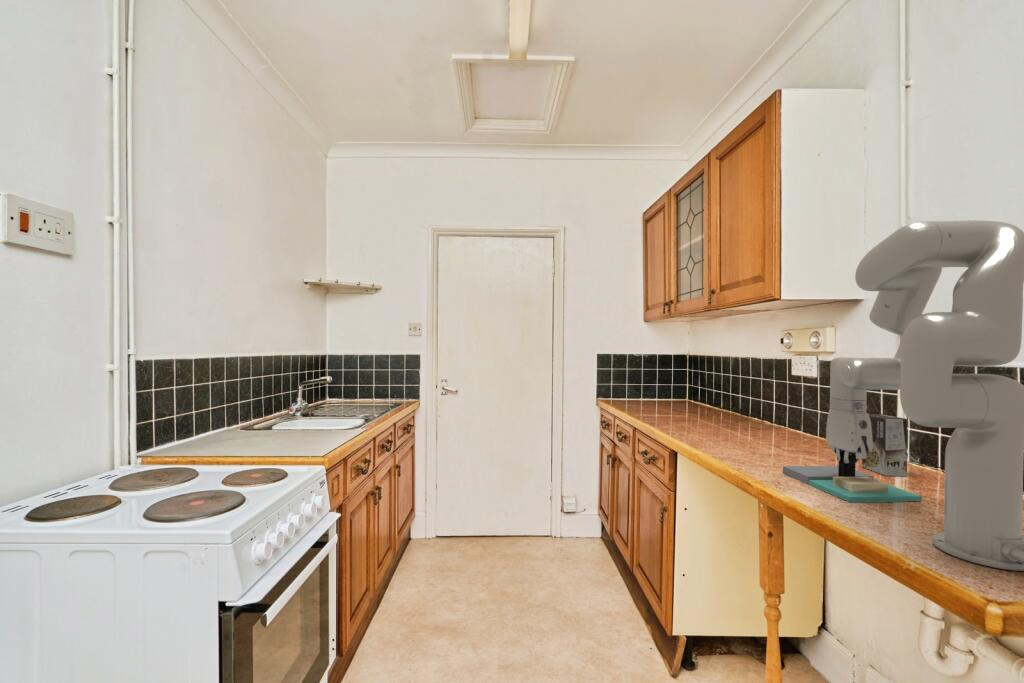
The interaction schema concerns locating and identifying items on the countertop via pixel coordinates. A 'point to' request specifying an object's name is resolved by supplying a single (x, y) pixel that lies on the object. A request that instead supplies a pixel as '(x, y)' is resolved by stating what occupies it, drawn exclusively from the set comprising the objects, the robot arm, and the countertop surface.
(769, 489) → the countertop surface
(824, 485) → the mat
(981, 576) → the countertop surface
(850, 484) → the tile
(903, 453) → the coffee box
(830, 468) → the board
